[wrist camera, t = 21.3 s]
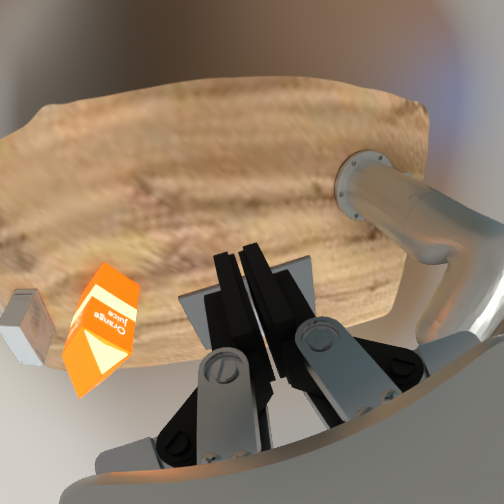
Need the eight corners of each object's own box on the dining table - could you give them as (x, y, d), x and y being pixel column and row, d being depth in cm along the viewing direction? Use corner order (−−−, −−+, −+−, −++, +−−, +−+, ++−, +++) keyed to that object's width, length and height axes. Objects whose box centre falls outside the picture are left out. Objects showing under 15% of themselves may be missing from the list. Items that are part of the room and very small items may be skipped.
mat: (308, 255, 48) (310, 257, 47) (314, 312, 56) (315, 314, 56) (178, 296, 46) (178, 299, 46) (205, 347, 54) (206, 349, 54)
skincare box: (57, 328, 44) (44, 368, 35) (34, 327, 42) (20, 364, 33) (38, 288, 38) (19, 327, 30) (15, 288, 37) (-6, 325, 28)
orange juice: (81, 293, 41) (53, 387, 25) (103, 261, 39) (72, 360, 23) (116, 314, 45) (103, 410, 29) (141, 286, 43) (131, 388, 27)
